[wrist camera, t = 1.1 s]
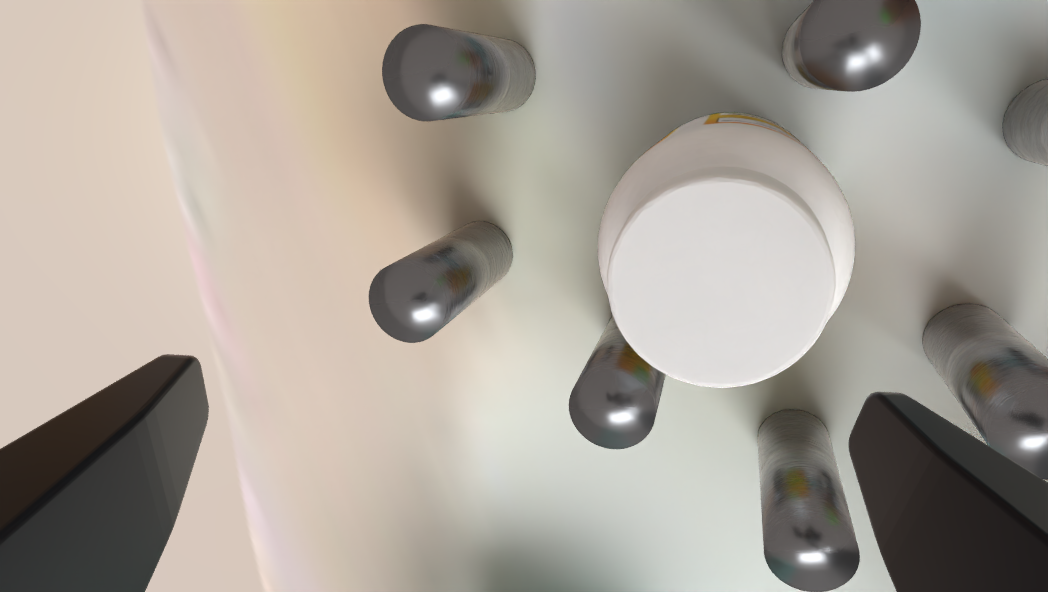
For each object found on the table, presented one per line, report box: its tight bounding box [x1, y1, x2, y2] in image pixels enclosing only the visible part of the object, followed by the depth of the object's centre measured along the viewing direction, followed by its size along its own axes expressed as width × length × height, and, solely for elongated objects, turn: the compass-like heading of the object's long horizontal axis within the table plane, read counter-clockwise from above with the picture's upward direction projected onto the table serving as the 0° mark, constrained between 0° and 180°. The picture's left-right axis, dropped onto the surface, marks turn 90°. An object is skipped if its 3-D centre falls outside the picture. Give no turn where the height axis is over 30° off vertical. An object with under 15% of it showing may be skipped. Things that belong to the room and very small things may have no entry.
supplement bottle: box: [598, 112, 855, 388], centre depth 17 cm, size 5×5×10 cm
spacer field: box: [369, 0, 1048, 592], centre depth 19 cm, size 18×14×6 cm
